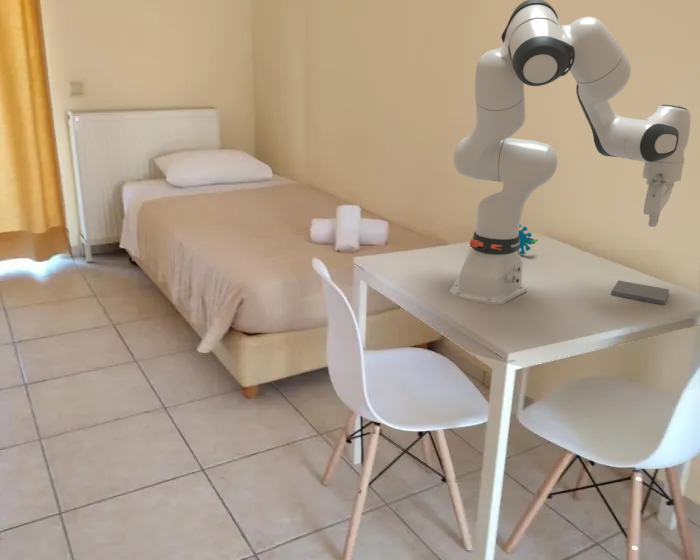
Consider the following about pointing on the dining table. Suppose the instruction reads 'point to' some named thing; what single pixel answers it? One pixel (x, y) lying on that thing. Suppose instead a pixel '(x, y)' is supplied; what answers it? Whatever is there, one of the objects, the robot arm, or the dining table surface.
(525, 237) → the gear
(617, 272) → the dining table surface
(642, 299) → the plate
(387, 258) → the dining table surface
